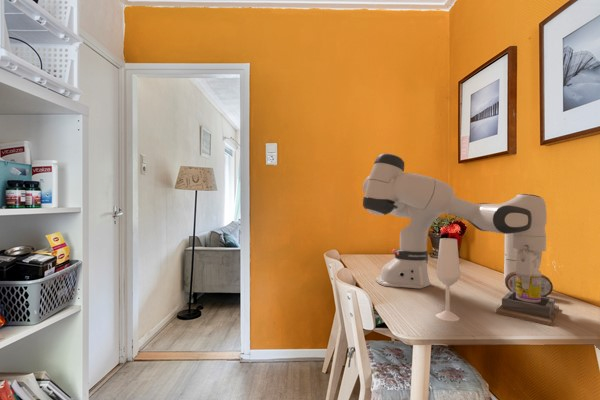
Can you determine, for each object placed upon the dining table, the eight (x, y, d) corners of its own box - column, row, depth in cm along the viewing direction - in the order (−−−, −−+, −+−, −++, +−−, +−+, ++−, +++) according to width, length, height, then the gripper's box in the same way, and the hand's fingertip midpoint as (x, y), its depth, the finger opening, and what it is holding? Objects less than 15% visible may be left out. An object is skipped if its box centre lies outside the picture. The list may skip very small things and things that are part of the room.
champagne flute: (432, 312, 102) (433, 237, 102) (453, 313, 102) (454, 237, 102) (440, 320, 96) (441, 240, 95) (463, 321, 95) (464, 240, 95)
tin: (551, 296, 121) (551, 274, 121) (553, 299, 118) (554, 276, 118) (504, 291, 127) (504, 270, 127) (505, 293, 124) (505, 271, 124)
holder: (551, 325, 93) (551, 311, 93) (495, 313, 103) (496, 300, 102) (558, 308, 107) (559, 296, 107) (509, 299, 117) (509, 288, 117)
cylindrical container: (517, 282, 141) (518, 225, 140) (527, 287, 133) (528, 227, 133) (500, 282, 141) (501, 225, 141) (509, 286, 134) (510, 226, 134)
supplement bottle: (511, 297, 108) (511, 259, 108) (529, 297, 108) (530, 259, 108) (526, 303, 101) (527, 263, 101) (546, 303, 102) (546, 263, 102)
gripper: (535, 248, 95) (534, 295, 95) (545, 242, 110) (544, 282, 110) (510, 246, 99) (509, 290, 99) (523, 240, 114) (522, 279, 114)
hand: (528, 286), depth 105 cm, fingers closed on supplement bottle, 7 cm apart
